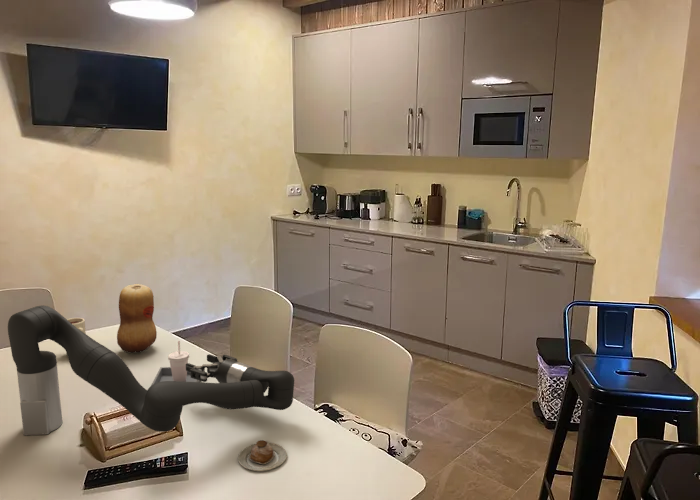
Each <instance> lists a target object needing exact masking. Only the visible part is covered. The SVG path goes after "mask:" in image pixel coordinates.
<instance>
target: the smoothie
mask: <svg viewBox="0 0 700 500" xmlns="http://www.w3.org/2000/svg"><path fill="white" fill-rule="evenodd" d="M177 347H178V348H177V349H178V350H176V351H173V352H171V353H169V354H168V356H167V359H168V361H169V365H170V366H169V367H171V371H172V377H173V381H184V382H186V377H187V371H186V364H187V363H189V358H190V353H189V352H188V351H185V350H181V341H180V340H178V341H177Z"/></svg>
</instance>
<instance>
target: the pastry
mask: <svg viewBox="0 0 700 500" xmlns="http://www.w3.org/2000/svg"><path fill="white" fill-rule="evenodd" d="M276 454H277V456H278V459H277V461H276V462H275V463H274V464H271V465H270V466H265V467H257V466H253V465H250V464H249V462H248V461H247V460H248V459H249V461H251V462H253V463H256V464H259V465H267V464H268V463H271V461H272V460H274V459H275V457H276ZM287 456H288V452H287V450H286V449H285V447H283V446H282V445H280V444H278V443H274V442H268V441H266V440H263V439H262V440H257V442H255V443H252V444H250V445H248V446H246V447H245V448H243V449H242V450H241V451H240V452H239V454H238V457H237V461H238V463H239V464H240V466H242V467H243V469H244V468H245V469H246V470H249V471H252V472H253V471H254V472H265V471H270V470H274V469H277V468H279V467H281V465H282V464H283V463H285V461H286V460H287Z"/></svg>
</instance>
